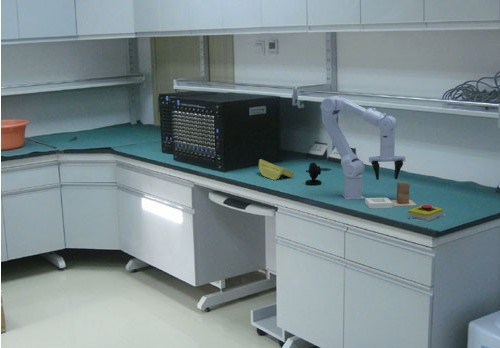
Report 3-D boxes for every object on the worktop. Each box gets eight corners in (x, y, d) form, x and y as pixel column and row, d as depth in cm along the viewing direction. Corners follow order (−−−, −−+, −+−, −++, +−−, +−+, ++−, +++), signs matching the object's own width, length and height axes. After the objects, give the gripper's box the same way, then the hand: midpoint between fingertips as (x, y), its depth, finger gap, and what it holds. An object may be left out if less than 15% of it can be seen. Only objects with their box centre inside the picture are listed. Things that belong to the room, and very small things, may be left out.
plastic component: (296, 172, 330) (281, 166, 324) (290, 187, 330) (275, 180, 324) (272, 164, 346) (258, 157, 340) (266, 177, 346) (252, 171, 340)
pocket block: (365, 204, 277) (365, 198, 277) (387, 203, 277) (387, 197, 277) (369, 209, 268) (370, 203, 268) (392, 209, 269) (392, 202, 268)
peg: (396, 201, 278) (397, 182, 276) (406, 201, 278) (406, 182, 276) (399, 203, 274) (399, 184, 272) (408, 203, 274) (409, 184, 273)
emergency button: (447, 204, 258) (424, 212, 248) (446, 216, 259) (424, 224, 249) (425, 200, 265) (403, 208, 255) (425, 211, 266) (402, 219, 256)
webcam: (324, 184, 313) (324, 163, 311) (308, 186, 311) (308, 164, 309) (317, 181, 321) (317, 160, 319) (302, 182, 319) (302, 161, 317)
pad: (388, 201, 280) (388, 200, 280) (410, 200, 281) (410, 199, 281) (394, 207, 272) (394, 205, 272) (416, 206, 272) (416, 204, 272)
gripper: (371, 148, 272) (371, 181, 275) (407, 147, 273) (406, 180, 275) (367, 145, 279) (367, 177, 282) (403, 144, 280) (402, 176, 282)
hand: (386, 179), depth 279 cm, fingers open, 7 cm apart
